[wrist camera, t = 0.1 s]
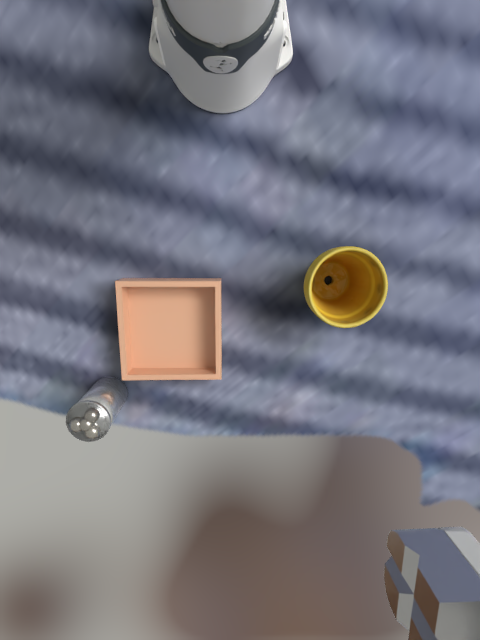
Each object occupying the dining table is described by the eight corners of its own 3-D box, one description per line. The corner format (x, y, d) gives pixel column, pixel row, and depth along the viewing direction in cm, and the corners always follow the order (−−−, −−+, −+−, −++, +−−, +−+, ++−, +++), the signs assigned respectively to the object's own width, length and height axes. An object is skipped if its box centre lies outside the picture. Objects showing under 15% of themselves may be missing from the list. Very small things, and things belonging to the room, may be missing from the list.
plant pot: (279, 283, 55) (291, 292, 45) (326, 231, 53) (349, 228, 44) (327, 326, 56) (348, 344, 47) (374, 277, 55) (405, 285, 45)
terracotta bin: (123, 278, 53) (115, 281, 49) (221, 278, 54) (220, 281, 50) (129, 370, 57) (121, 380, 53) (221, 369, 57) (221, 379, 53)
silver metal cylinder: (90, 375, 56) (58, 406, 46) (127, 375, 57) (104, 406, 46) (93, 409, 58) (63, 447, 47) (129, 409, 58) (108, 447, 47)
